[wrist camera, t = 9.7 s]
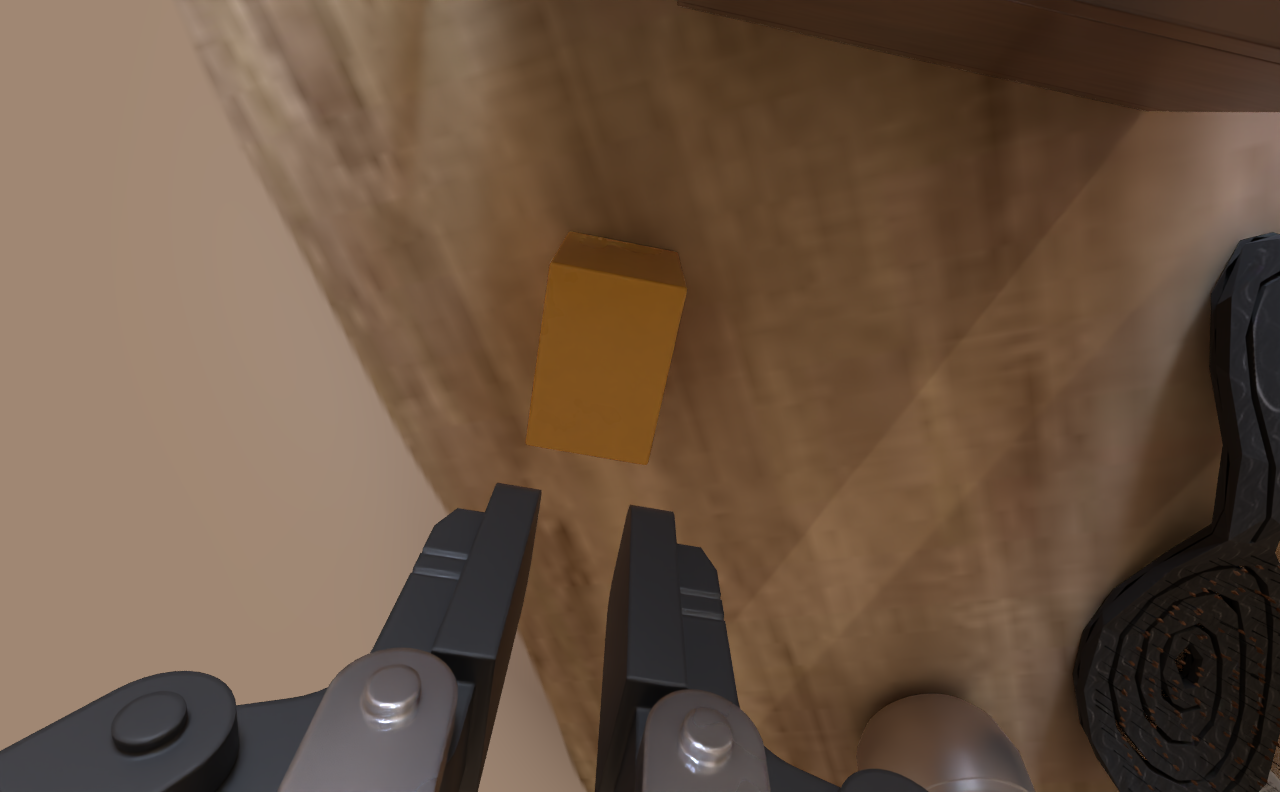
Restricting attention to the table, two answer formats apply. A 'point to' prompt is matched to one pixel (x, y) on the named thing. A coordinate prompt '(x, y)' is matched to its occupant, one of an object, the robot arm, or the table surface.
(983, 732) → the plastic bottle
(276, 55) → the table surface
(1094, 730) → the hairbrush
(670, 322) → the yellow cube
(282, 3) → the table surface
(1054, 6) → the cabinet
